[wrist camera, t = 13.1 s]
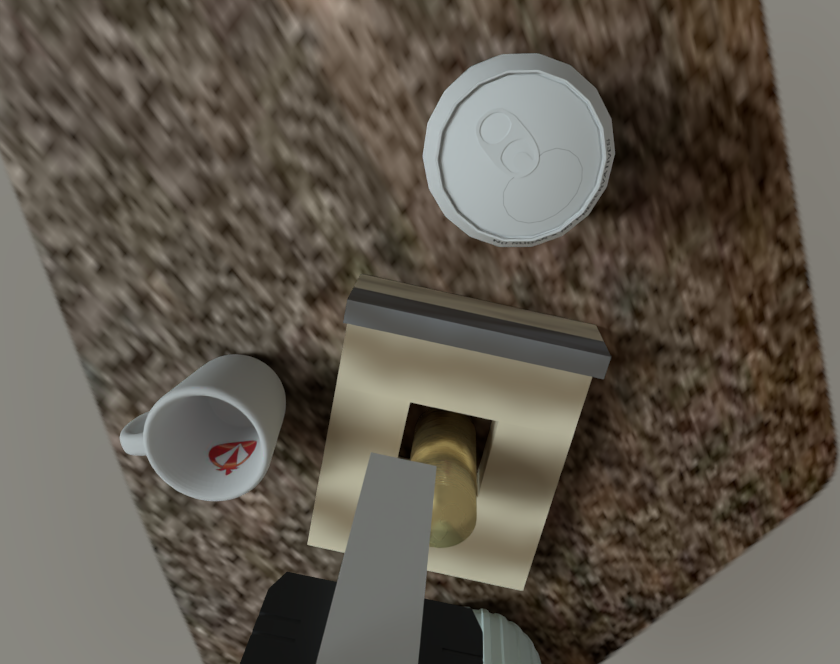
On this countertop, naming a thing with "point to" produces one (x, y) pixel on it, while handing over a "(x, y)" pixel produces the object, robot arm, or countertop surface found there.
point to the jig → (458, 411)
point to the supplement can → (518, 150)
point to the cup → (213, 429)
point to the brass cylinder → (449, 473)
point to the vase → (504, 641)
